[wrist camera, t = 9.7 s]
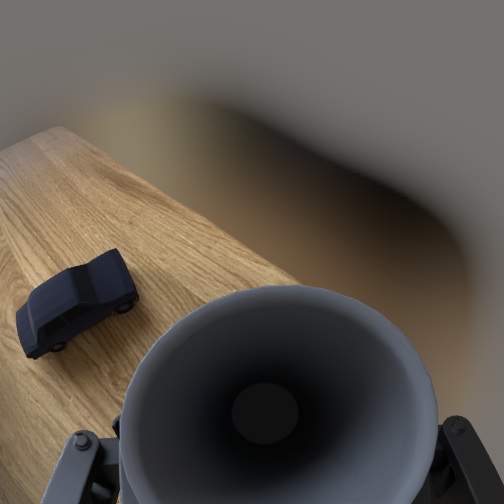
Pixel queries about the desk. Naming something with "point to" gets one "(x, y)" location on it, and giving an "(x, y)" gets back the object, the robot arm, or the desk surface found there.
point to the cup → (279, 405)
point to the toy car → (74, 303)
